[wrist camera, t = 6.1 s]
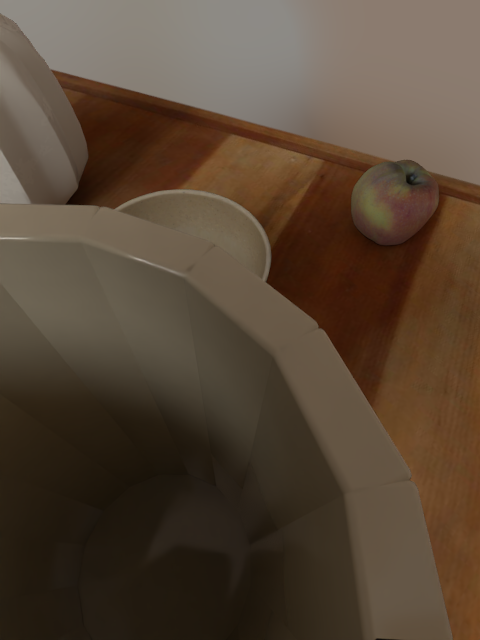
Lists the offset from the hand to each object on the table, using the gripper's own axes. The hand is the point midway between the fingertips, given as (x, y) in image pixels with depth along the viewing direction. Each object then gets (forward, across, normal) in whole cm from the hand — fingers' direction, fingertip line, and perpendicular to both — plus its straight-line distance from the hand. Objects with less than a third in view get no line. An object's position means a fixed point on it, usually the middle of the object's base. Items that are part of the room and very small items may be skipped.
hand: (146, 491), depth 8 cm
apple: (+26, -9, -7) cm, 29 cm away
